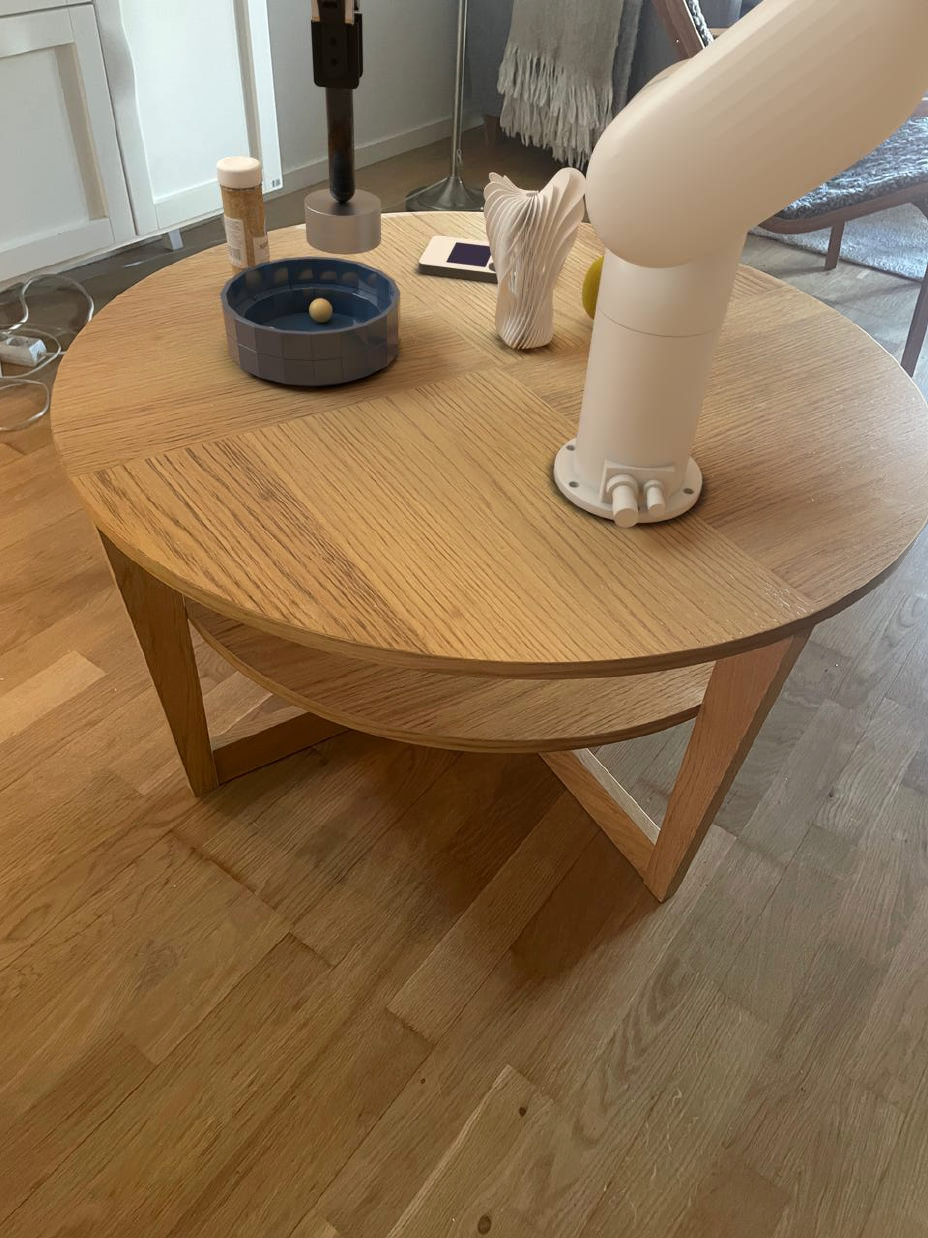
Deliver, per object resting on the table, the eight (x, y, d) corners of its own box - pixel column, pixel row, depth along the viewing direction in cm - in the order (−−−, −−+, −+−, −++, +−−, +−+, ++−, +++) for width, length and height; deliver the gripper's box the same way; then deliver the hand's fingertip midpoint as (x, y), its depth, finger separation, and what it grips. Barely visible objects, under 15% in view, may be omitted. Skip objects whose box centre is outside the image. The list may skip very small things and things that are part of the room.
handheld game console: (434, 244, 114) (434, 233, 114) (553, 258, 113) (554, 247, 112) (417, 272, 108) (417, 261, 107) (543, 289, 106) (544, 277, 105)
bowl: (391, 397, 88) (390, 339, 83) (211, 387, 88) (201, 328, 83) (406, 316, 100) (406, 261, 96) (248, 306, 100) (241, 251, 96)
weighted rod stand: (377, 256, 73) (376, 1, 61) (301, 252, 72) (284, -5, 61) (383, 227, 77) (383, -17, 65) (311, 222, 77) (298, -23, 65)
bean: (331, 327, 96) (330, 305, 94) (308, 325, 96) (306, 303, 94) (334, 316, 97) (333, 294, 96) (312, 315, 97) (310, 293, 96)
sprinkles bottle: (279, 294, 103) (266, 166, 93) (239, 300, 101) (222, 171, 92) (266, 278, 105) (253, 152, 96) (227, 283, 104) (210, 156, 95)
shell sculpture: (469, 330, 98) (479, 148, 86) (540, 320, 101) (558, 142, 88) (499, 366, 93) (514, 179, 80) (573, 355, 95) (598, 171, 83)
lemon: (626, 340, 98) (639, 266, 92) (574, 333, 99) (584, 259, 93) (630, 318, 102) (642, 245, 96) (580, 311, 103) (590, 239, 97)
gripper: (284, -276, 60) (302, 50, 72) (236, -277, 48) (268, 110, 61) (400, -267, 60) (398, 57, 73) (380, -266, 48) (382, 118, 61)
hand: (339, 79), depth 67 cm, fingers closed on weighted rod stand
